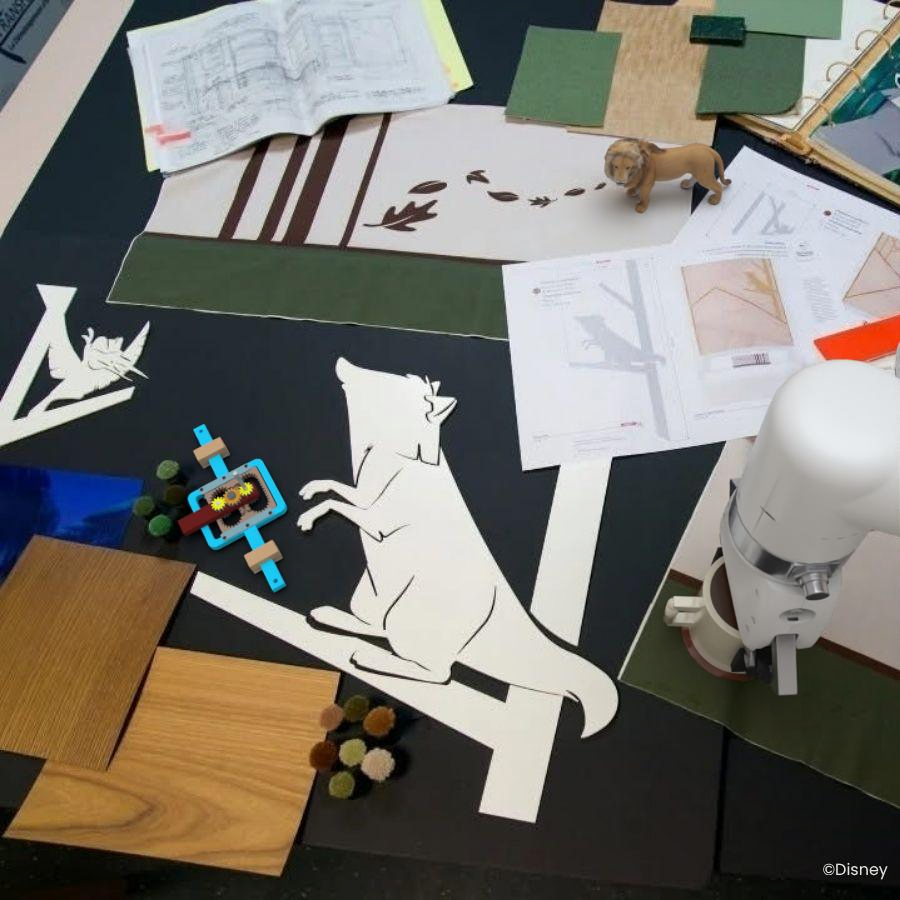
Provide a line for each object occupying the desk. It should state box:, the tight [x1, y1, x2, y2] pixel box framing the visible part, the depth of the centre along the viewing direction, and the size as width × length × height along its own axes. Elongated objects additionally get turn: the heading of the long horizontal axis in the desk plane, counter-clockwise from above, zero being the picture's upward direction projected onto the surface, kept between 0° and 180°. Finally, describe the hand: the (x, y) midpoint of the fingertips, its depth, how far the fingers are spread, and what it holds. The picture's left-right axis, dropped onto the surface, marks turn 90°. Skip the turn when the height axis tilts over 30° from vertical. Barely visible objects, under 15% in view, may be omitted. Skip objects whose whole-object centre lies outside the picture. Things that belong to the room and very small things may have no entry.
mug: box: [662, 556, 772, 674], centre depth 67 cm, size 10×7×8 cm
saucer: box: [680, 591, 758, 682], centre depth 71 cm, size 13×13×1 cm
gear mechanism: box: [177, 423, 288, 593], centre depth 80 cm, size 20×5×9 cm
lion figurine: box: [603, 137, 733, 213], centre depth 92 cm, size 15×5×9 cm, turn 100°
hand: (740, 616), depth 67 cm, fingers closed on mug, 7 cm apart
